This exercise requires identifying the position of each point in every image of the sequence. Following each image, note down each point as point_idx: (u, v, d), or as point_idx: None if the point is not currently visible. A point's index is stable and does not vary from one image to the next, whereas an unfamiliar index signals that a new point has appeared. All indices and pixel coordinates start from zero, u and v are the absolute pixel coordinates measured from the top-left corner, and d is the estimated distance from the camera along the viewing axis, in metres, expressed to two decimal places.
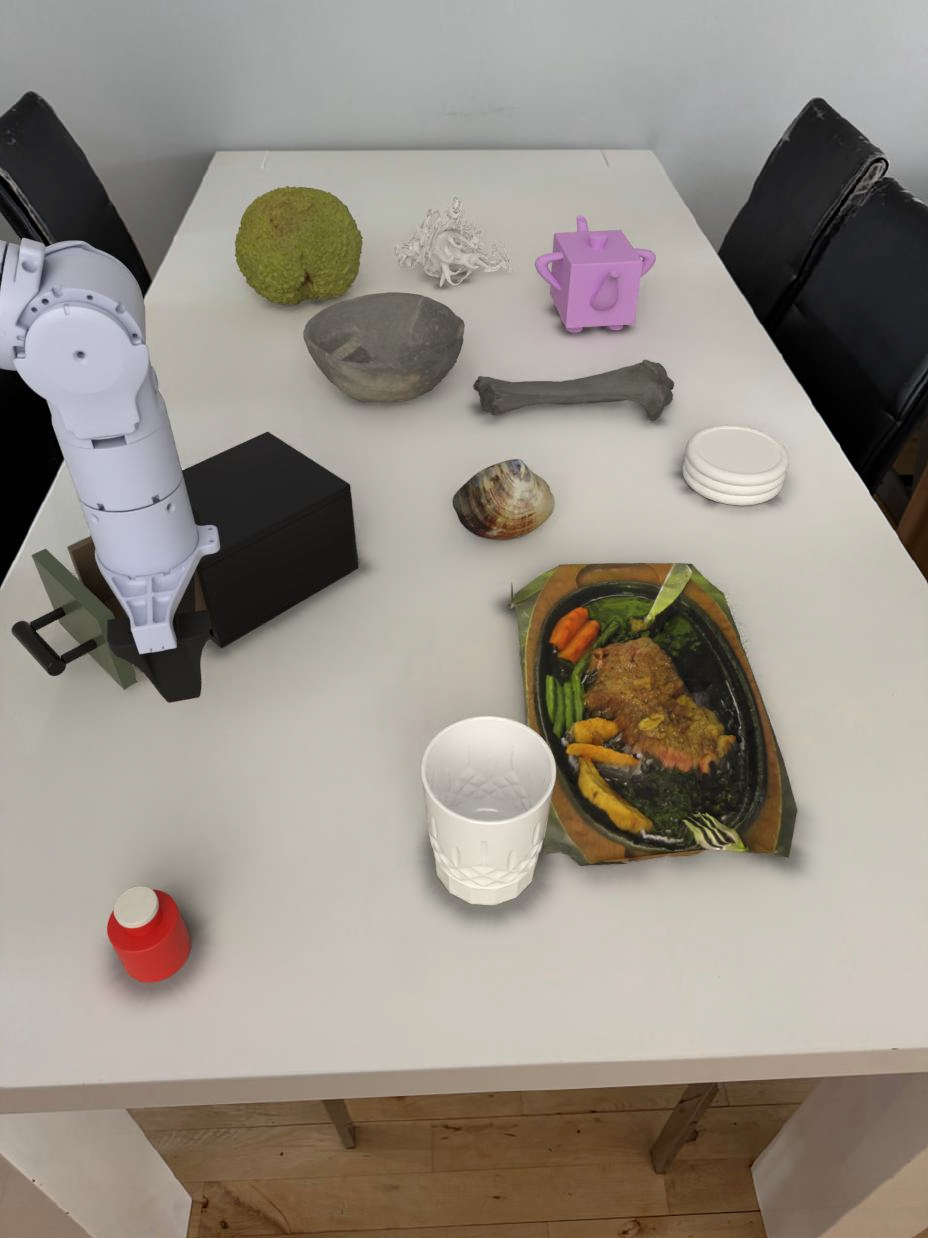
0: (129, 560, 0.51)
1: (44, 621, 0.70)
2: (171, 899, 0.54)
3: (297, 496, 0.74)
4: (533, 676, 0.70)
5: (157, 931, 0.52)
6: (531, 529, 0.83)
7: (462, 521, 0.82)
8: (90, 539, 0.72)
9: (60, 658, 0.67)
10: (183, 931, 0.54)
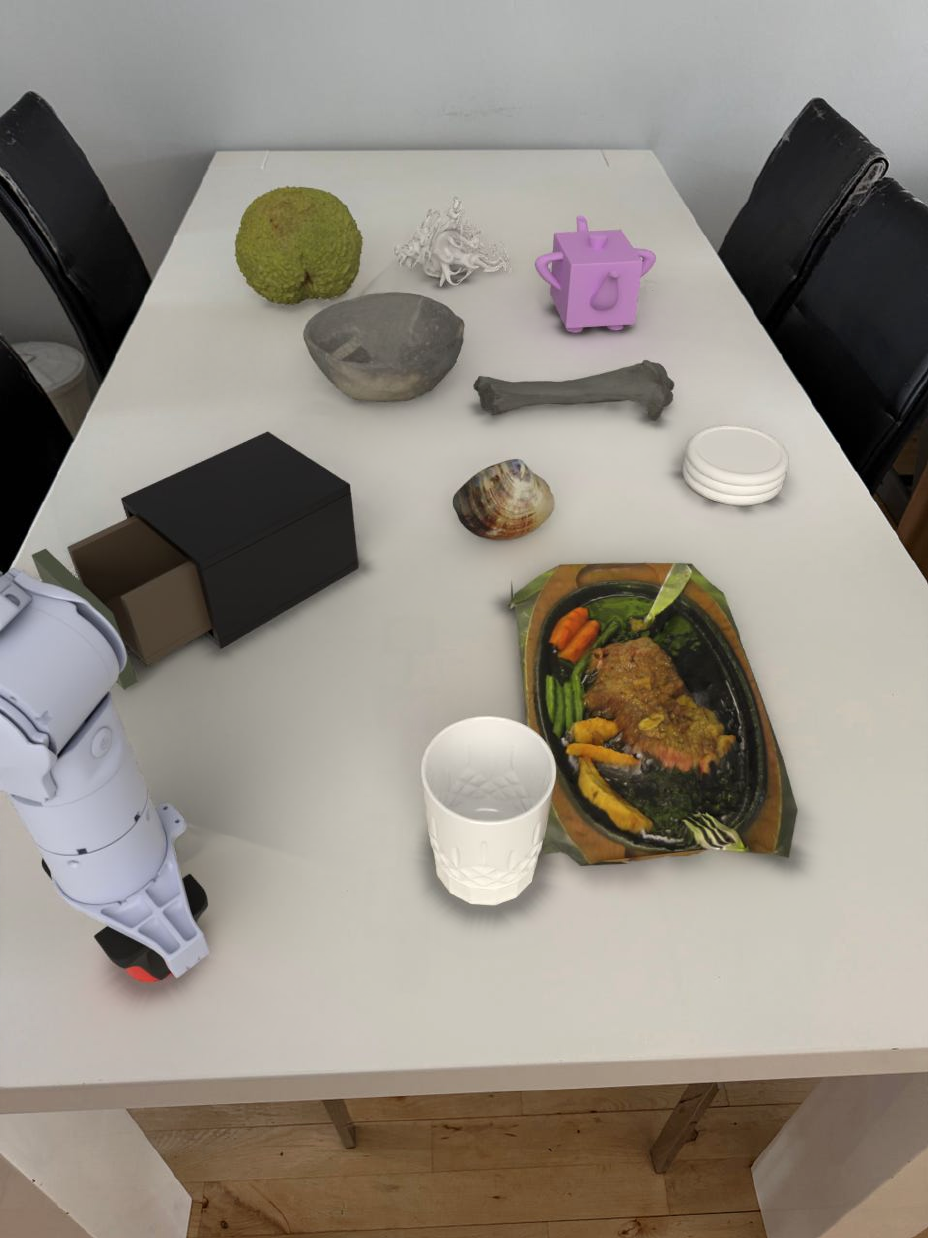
0: (117, 886, 0.45)
1: None
2: None
3: (297, 496, 0.74)
4: (533, 676, 0.70)
5: None
6: (531, 529, 0.83)
7: (462, 521, 0.82)
8: (90, 539, 0.72)
9: None
10: None
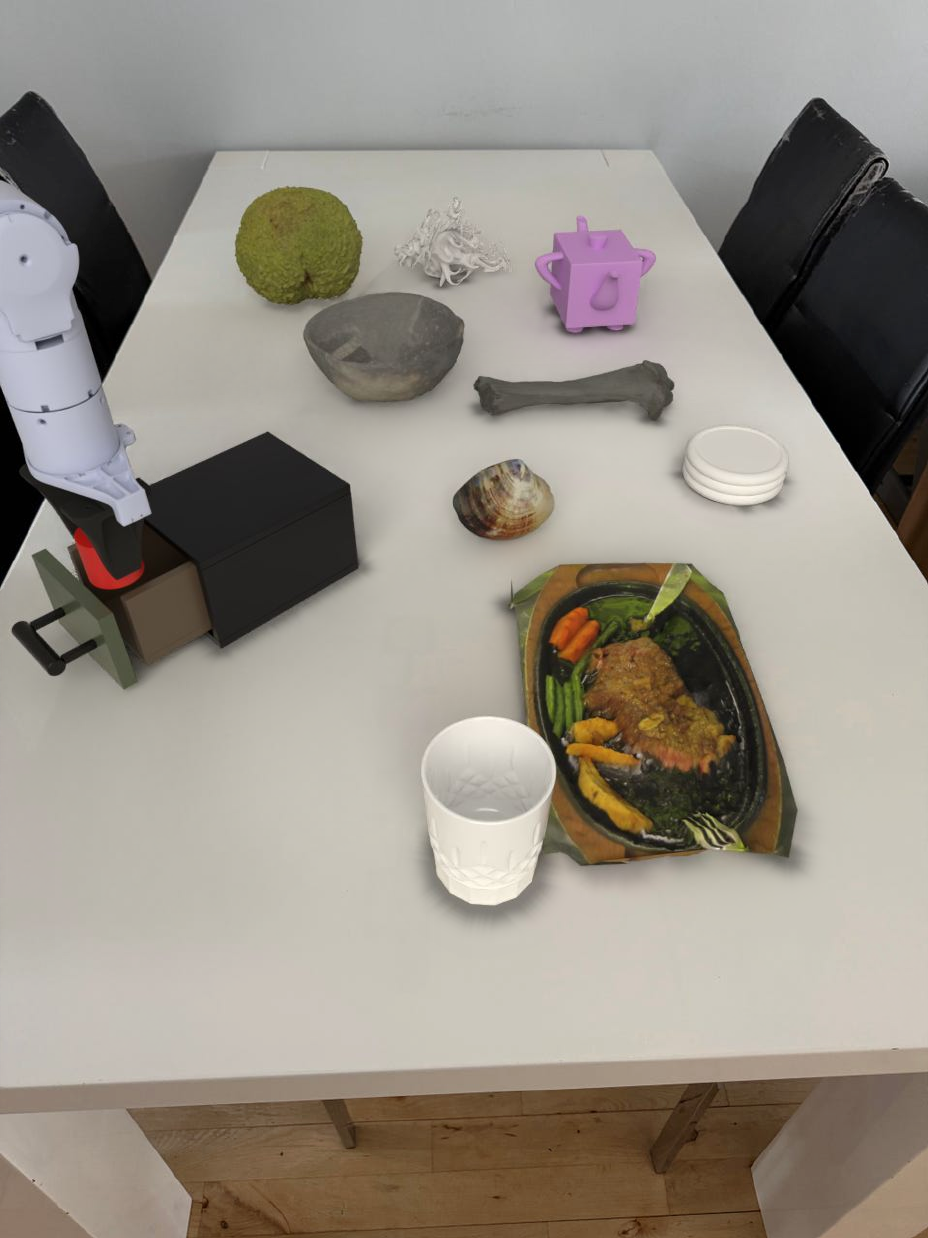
0: (77, 456, 0.57)
1: (44, 621, 0.70)
2: None
3: (297, 496, 0.74)
4: (533, 676, 0.70)
5: None
6: (531, 529, 0.83)
7: (462, 521, 0.82)
8: None
9: (60, 658, 0.67)
10: None
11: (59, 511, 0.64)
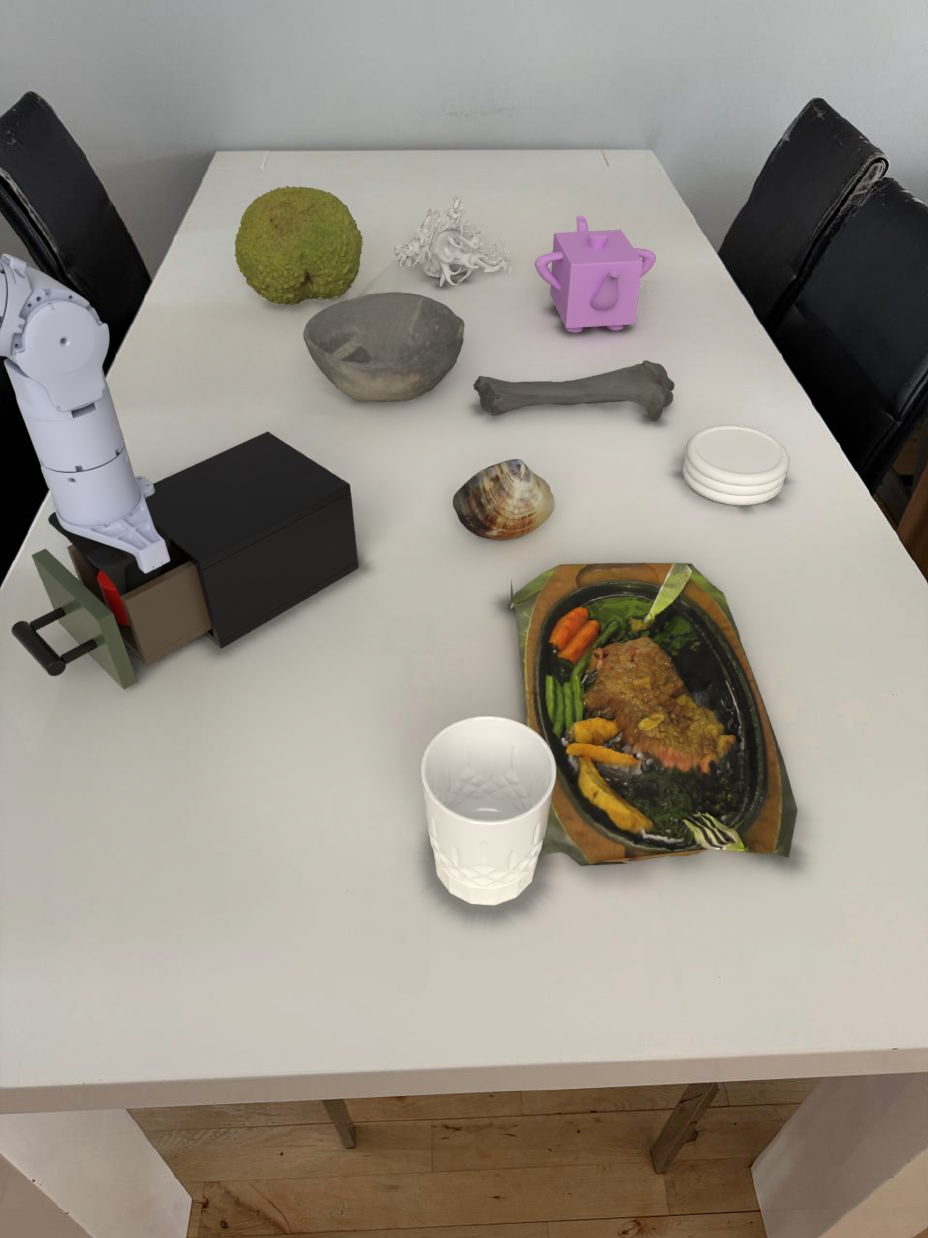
0: (103, 509, 0.63)
1: (45, 621, 0.70)
2: None
3: (297, 496, 0.74)
4: (533, 676, 0.70)
5: None
6: (531, 529, 0.83)
7: (462, 521, 0.82)
8: None
9: (60, 658, 0.67)
10: None
11: (84, 555, 0.70)
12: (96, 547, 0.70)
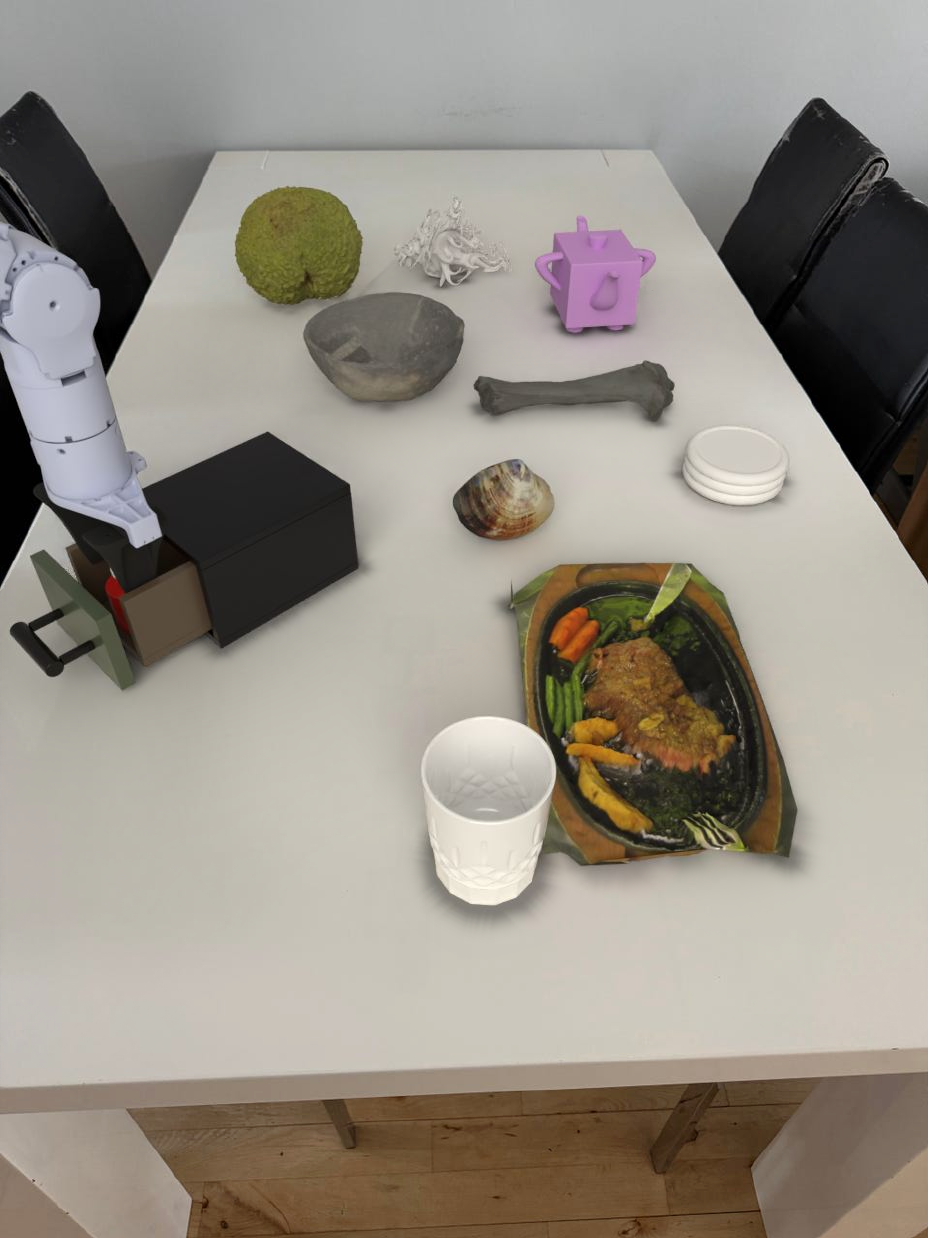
0: (93, 482, 0.62)
1: (43, 621, 0.70)
2: None
3: (297, 496, 0.74)
4: (533, 676, 0.70)
5: None
6: (531, 529, 0.83)
7: (462, 521, 0.82)
8: None
9: (58, 659, 0.67)
10: None
11: (69, 528, 0.69)
12: (82, 520, 0.69)
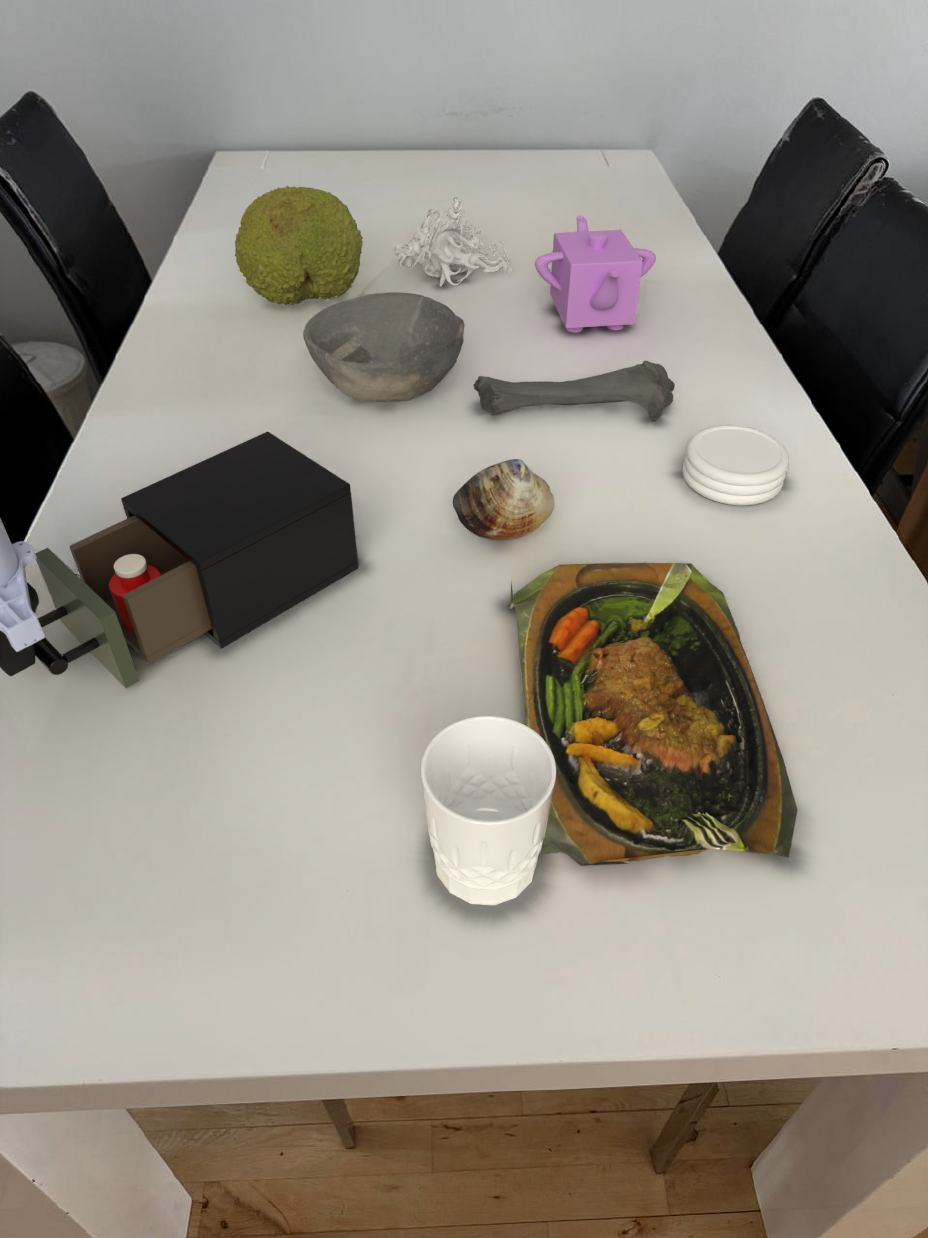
0: None
1: (47, 620, 0.70)
2: (156, 569, 0.72)
3: (297, 496, 0.74)
4: (533, 676, 0.70)
5: None
6: (531, 529, 0.83)
7: (462, 521, 0.82)
8: (92, 538, 0.72)
9: (62, 657, 0.67)
10: None
11: None
12: None
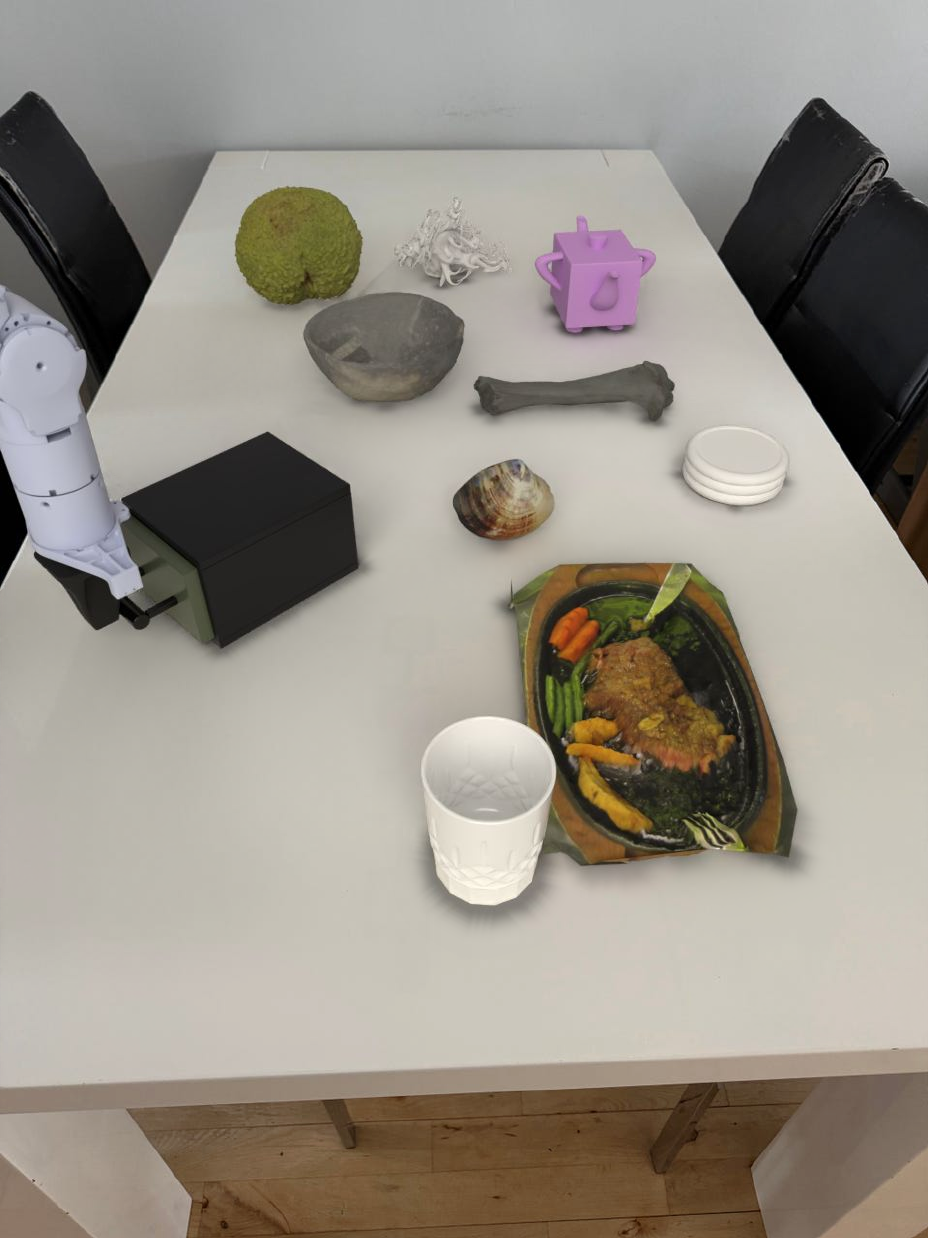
0: (76, 534, 0.63)
1: None
2: None
3: (297, 496, 0.74)
4: (533, 676, 0.70)
5: None
6: (531, 529, 0.83)
7: (462, 521, 0.82)
8: None
9: (145, 613, 0.71)
10: None
11: (69, 591, 0.68)
12: None
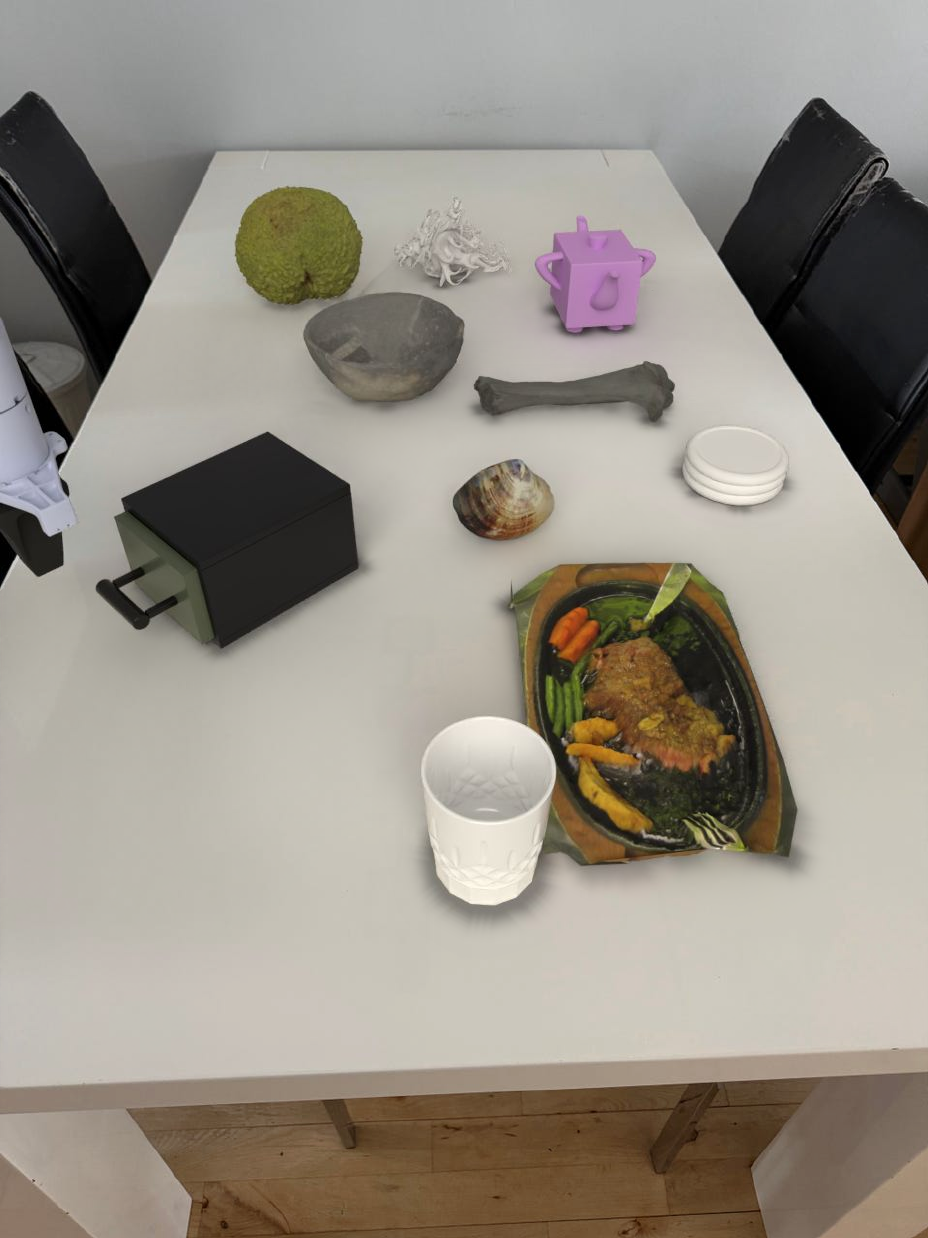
0: (3, 465, 0.57)
1: (126, 579, 0.74)
2: None
3: (297, 496, 0.74)
4: (533, 676, 0.70)
5: None
6: (531, 529, 0.83)
7: (462, 521, 0.82)
8: None
9: (144, 613, 0.71)
10: None
11: (4, 533, 0.62)
12: None
